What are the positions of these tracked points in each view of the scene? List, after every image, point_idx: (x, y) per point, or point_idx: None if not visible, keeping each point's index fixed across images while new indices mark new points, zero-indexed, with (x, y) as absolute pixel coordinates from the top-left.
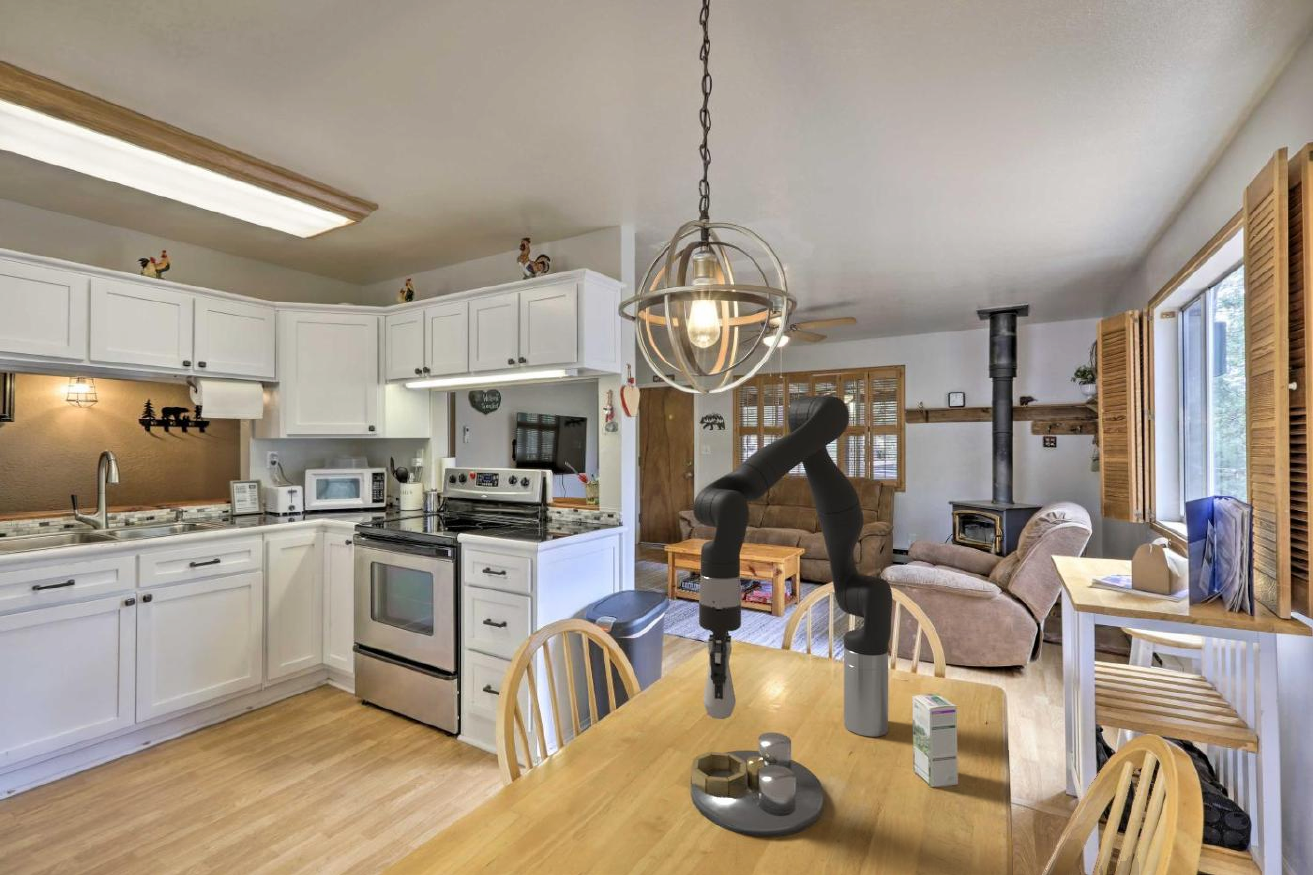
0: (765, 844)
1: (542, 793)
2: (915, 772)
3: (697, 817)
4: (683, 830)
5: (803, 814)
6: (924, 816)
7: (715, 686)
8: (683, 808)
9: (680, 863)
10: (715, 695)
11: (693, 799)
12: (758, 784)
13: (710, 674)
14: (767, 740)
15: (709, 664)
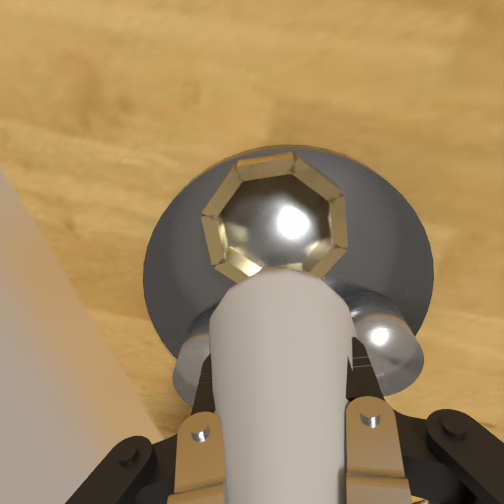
0: (140, 315)
1: None
2: (424, 501)
3: (163, 188)
4: (109, 171)
5: None
6: None
7: (194, 404)
8: (181, 150)
9: (18, 192)
10: (203, 369)
11: (207, 169)
12: None
13: (233, 414)
14: (373, 349)
15: (170, 498)
